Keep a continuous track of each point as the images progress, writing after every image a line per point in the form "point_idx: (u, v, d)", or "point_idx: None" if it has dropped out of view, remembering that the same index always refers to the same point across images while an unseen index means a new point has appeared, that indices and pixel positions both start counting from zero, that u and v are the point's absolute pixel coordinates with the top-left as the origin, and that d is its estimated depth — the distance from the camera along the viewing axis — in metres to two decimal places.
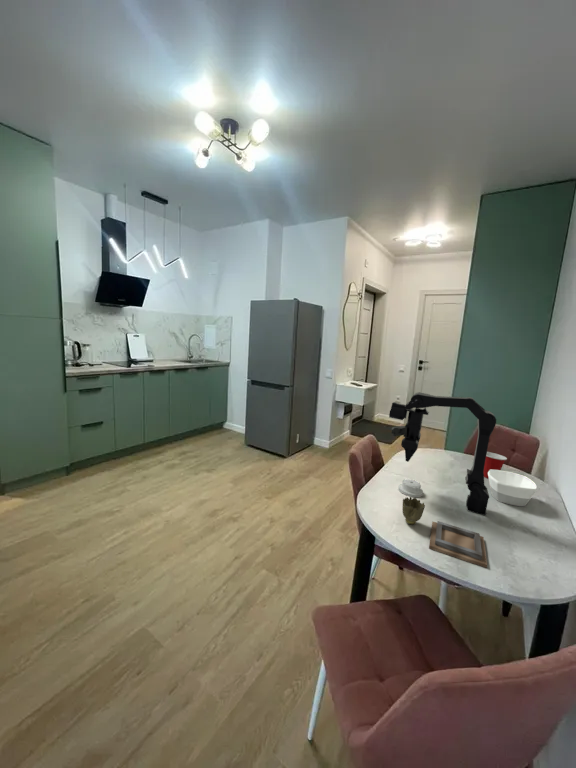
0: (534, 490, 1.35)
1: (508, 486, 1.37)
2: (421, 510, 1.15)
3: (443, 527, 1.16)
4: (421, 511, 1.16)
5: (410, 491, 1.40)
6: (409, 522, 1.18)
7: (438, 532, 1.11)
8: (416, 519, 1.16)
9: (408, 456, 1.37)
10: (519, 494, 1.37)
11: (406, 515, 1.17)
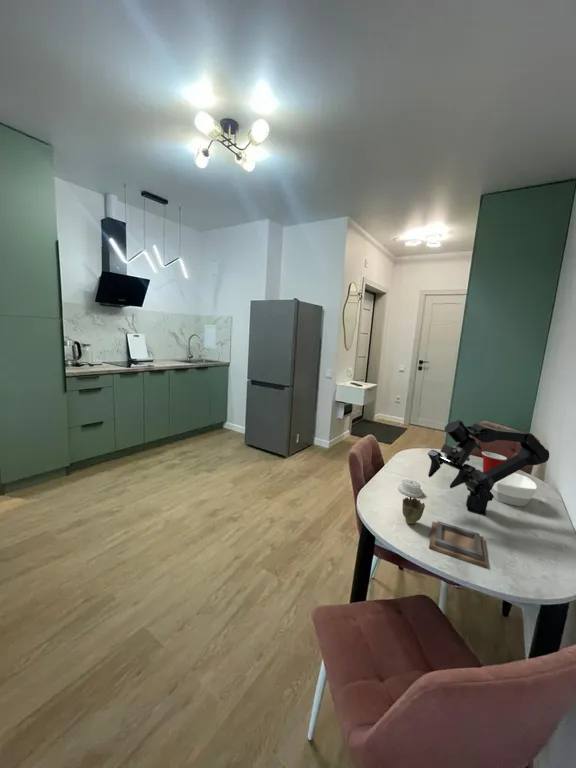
0: (534, 490, 1.35)
1: (508, 486, 1.37)
2: (421, 510, 1.15)
3: (443, 527, 1.16)
4: (421, 511, 1.16)
5: (410, 491, 1.40)
6: (409, 522, 1.18)
7: (438, 532, 1.11)
8: (416, 519, 1.16)
9: (456, 483, 1.20)
10: (519, 494, 1.37)
11: (406, 515, 1.17)
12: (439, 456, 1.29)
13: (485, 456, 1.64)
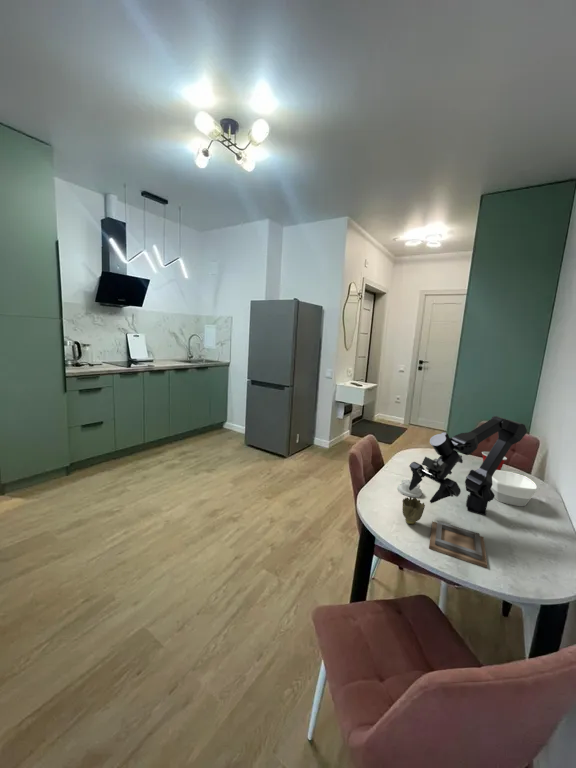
0: (534, 490, 1.35)
1: (508, 486, 1.37)
2: (421, 510, 1.15)
3: (443, 527, 1.16)
4: (421, 511, 1.16)
5: (409, 491, 1.40)
6: (409, 522, 1.18)
7: (438, 532, 1.11)
8: (416, 519, 1.16)
9: (437, 498, 1.15)
10: (519, 494, 1.37)
11: (406, 515, 1.17)
12: (421, 469, 1.25)
13: (485, 456, 1.64)
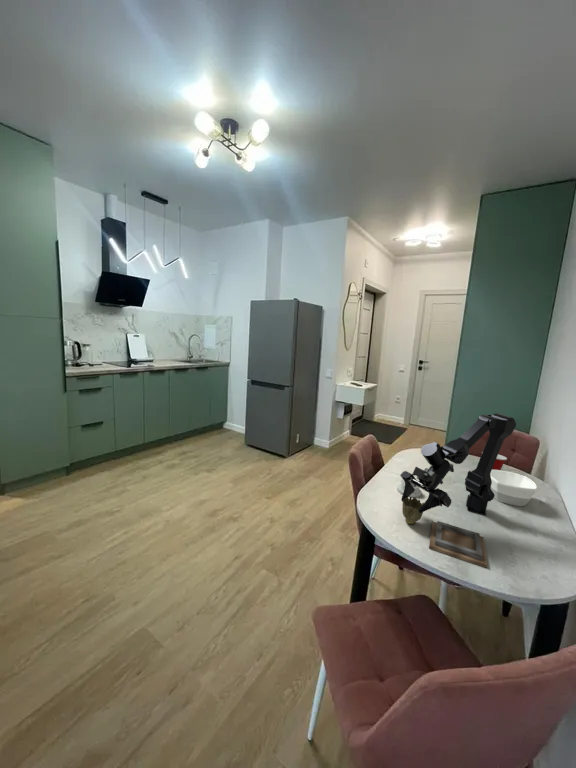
0: (534, 490, 1.35)
1: (508, 486, 1.37)
2: None
3: (443, 527, 1.16)
4: None
5: None
6: (409, 522, 1.18)
7: (438, 532, 1.11)
8: (416, 519, 1.16)
9: (426, 508, 1.14)
10: (519, 494, 1.37)
11: (406, 515, 1.17)
12: (413, 479, 1.23)
13: None
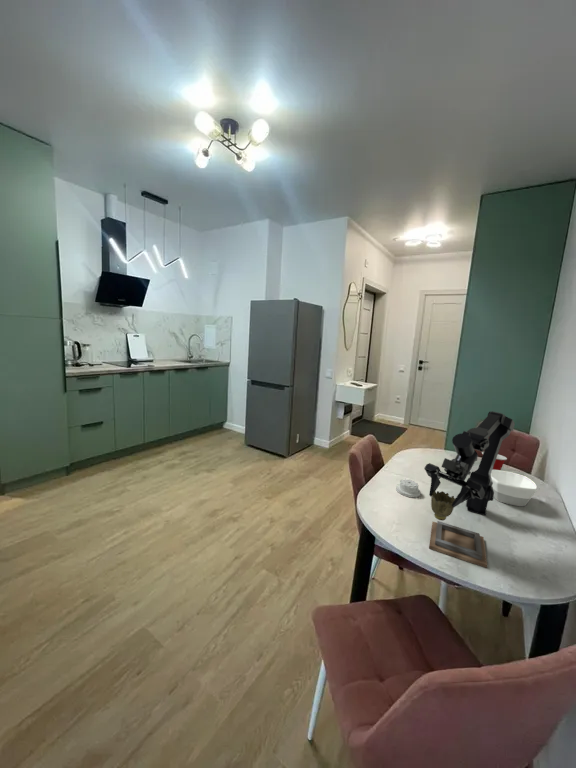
0: (534, 490, 1.35)
1: (508, 486, 1.37)
2: None
3: (443, 527, 1.16)
4: None
5: (408, 491, 1.40)
6: (440, 518, 1.11)
7: (438, 532, 1.11)
8: (448, 514, 1.09)
9: (459, 502, 1.07)
10: (519, 494, 1.37)
11: (437, 511, 1.09)
12: (440, 471, 1.15)
13: None
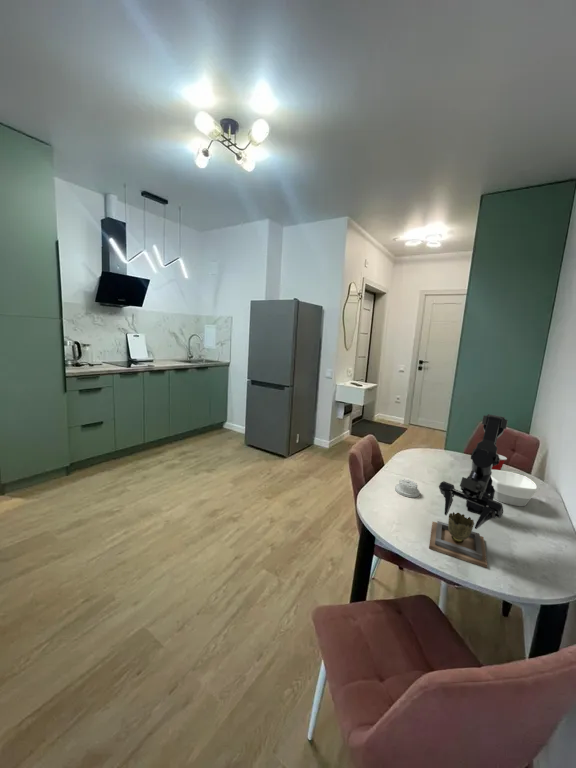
0: (534, 490, 1.35)
1: (508, 486, 1.37)
2: (472, 527, 1.06)
3: (443, 527, 1.16)
4: (472, 528, 1.06)
5: (407, 491, 1.40)
6: (458, 541, 1.08)
7: (438, 532, 1.11)
8: (467, 537, 1.07)
9: (481, 523, 1.05)
10: (519, 494, 1.37)
11: (456, 534, 1.07)
12: (453, 489, 1.13)
13: None
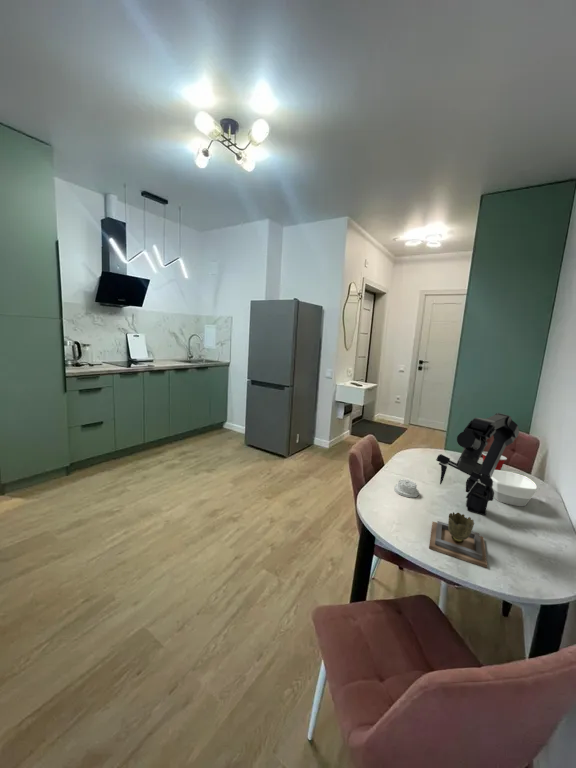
0: (534, 490, 1.35)
1: (508, 486, 1.37)
2: (472, 527, 1.06)
3: (443, 527, 1.16)
4: (472, 528, 1.06)
5: (406, 491, 1.40)
6: (458, 541, 1.08)
7: (438, 532, 1.11)
8: (467, 537, 1.07)
9: (472, 493, 1.19)
10: (519, 494, 1.37)
11: (456, 534, 1.07)
12: (449, 462, 1.22)
13: (485, 456, 1.64)
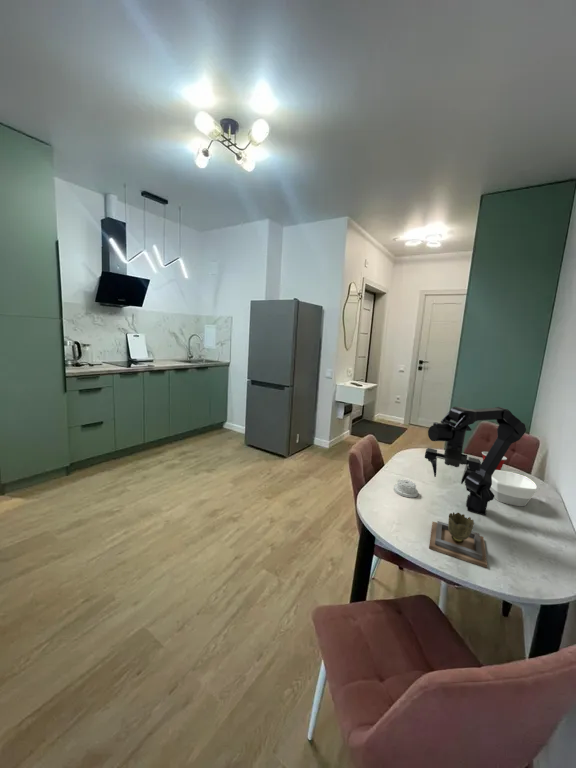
0: (534, 490, 1.35)
1: (508, 486, 1.37)
2: (472, 527, 1.06)
3: (443, 527, 1.16)
4: (472, 528, 1.06)
5: (405, 491, 1.40)
6: (458, 541, 1.08)
7: (438, 532, 1.11)
8: (467, 537, 1.07)
9: (465, 477, 1.25)
10: (519, 494, 1.37)
11: (456, 534, 1.07)
12: (437, 456, 1.27)
13: (485, 456, 1.64)
